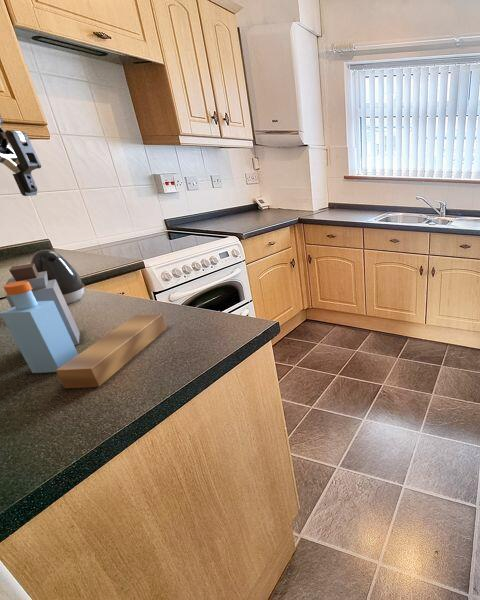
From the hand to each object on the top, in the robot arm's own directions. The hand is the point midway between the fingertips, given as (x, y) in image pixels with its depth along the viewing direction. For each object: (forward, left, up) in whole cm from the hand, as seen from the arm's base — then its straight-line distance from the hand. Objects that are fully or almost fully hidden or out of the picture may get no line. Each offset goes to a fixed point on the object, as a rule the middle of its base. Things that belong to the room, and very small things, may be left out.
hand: (4, 195), depth 60 cm
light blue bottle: (+2, -3, -23) cm, 24 cm away
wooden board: (+12, -1, -32) cm, 34 cm away
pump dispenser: (-28, +23, -32) cm, 49 cm away
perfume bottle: (-6, +2, -32) cm, 33 cm away
